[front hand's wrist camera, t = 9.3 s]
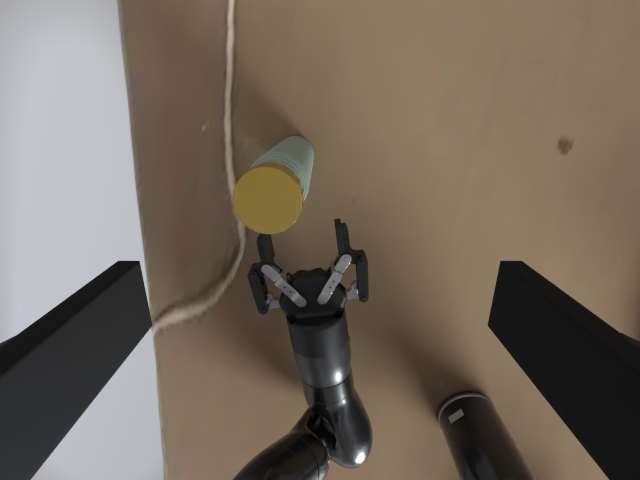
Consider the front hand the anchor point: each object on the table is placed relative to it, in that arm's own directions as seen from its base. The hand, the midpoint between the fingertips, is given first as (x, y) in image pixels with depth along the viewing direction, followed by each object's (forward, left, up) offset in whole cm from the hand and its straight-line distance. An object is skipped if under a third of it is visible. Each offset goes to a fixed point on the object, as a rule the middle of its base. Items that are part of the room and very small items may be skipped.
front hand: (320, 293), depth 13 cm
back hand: (+6, -1, -27) cm, 27 cm away
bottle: (-1, -3, -33) cm, 33 cm away
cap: (-1, -3, -9) cm, 10 cm away
